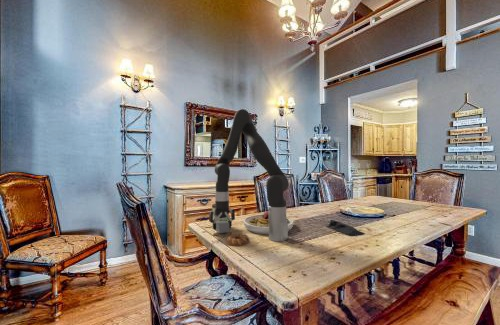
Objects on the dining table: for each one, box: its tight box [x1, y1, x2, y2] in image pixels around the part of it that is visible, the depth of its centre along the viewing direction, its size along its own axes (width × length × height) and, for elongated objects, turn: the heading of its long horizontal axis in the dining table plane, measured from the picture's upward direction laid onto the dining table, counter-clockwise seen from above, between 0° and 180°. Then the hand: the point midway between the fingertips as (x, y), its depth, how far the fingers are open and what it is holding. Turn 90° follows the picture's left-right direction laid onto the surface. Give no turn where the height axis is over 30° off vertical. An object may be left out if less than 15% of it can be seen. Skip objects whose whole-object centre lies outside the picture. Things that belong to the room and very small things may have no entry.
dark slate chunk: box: [325, 219, 366, 237], centre depth 132 cm, size 15×22×5 cm
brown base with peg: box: [212, 231, 232, 238], centre depth 126 cm, size 7×7×6 cm
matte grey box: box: [215, 220, 230, 233], centre depth 126 cm, size 6×6×5 cm
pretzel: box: [226, 232, 250, 247], centre depth 114 cm, size 12×11×4 cm
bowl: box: [243, 210, 294, 235], centre depth 138 cm, size 30×30×8 cm
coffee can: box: [211, 203, 230, 229], centre depth 139 cm, size 10×10×14 cm
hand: (222, 228), depth 126 cm, fingers open, 8 cm apart
